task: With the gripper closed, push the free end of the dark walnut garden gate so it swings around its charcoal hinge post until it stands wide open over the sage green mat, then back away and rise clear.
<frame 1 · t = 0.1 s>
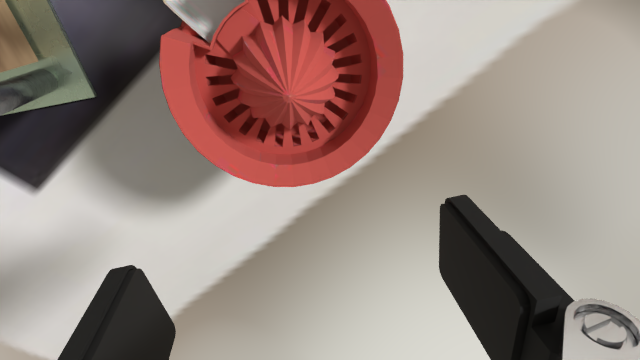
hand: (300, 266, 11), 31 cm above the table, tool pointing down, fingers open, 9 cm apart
citrus juicer: (274, 40, 36), on the table
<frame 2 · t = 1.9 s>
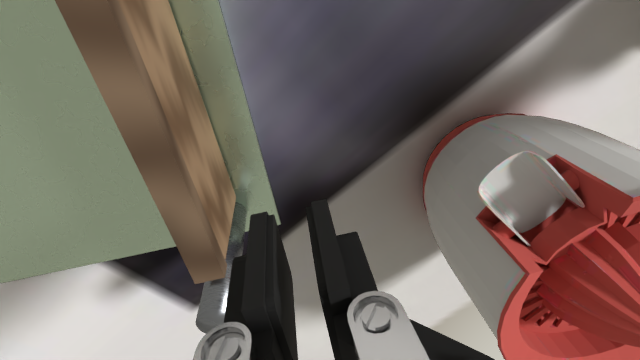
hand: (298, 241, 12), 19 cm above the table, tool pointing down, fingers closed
gate: (172, 112, 22), point 6 cm above the table, hinge at 0.0°
citrus juicer: (471, 163, 34), on the table
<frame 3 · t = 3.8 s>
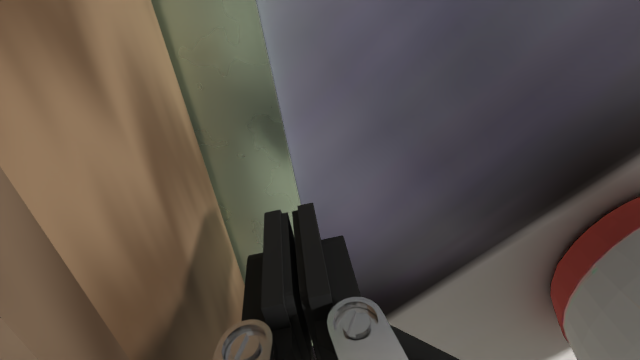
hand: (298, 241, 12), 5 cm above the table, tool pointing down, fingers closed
gate: (144, 239, 10), point 6 cm above the table, hinge at 1.8°, touching gripper
citrus juicer: (624, 249, 22), on the table
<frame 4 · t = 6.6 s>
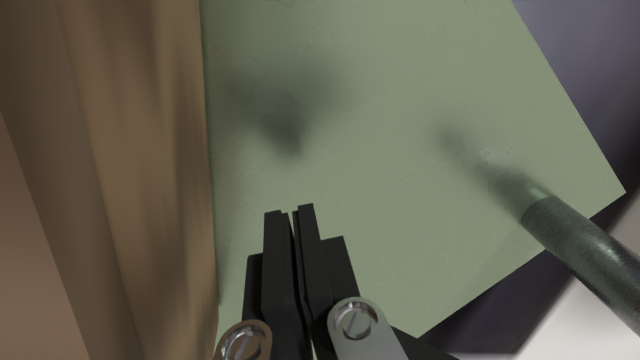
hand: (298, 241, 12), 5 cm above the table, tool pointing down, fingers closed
gate: (149, 232, 10), point 6 cm above the table, hinge at 51.4°, touching gripper
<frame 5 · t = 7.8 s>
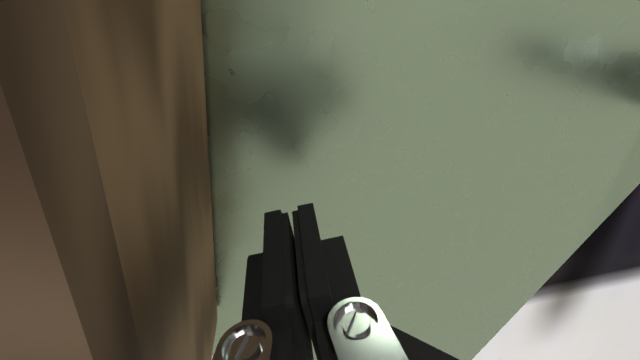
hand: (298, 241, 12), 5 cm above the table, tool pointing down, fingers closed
gate: (150, 231, 10), point 6 cm above the table, hinge at 72.1°, touching gripper
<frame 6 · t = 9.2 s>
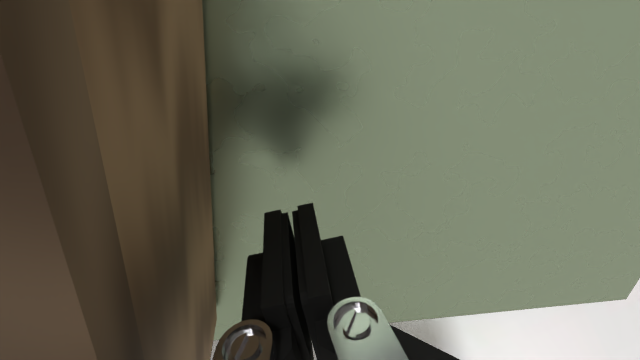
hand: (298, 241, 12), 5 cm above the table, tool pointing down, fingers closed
gate: (151, 229, 10), point 6 cm above the table, hinge at 95.7°, touching gripper
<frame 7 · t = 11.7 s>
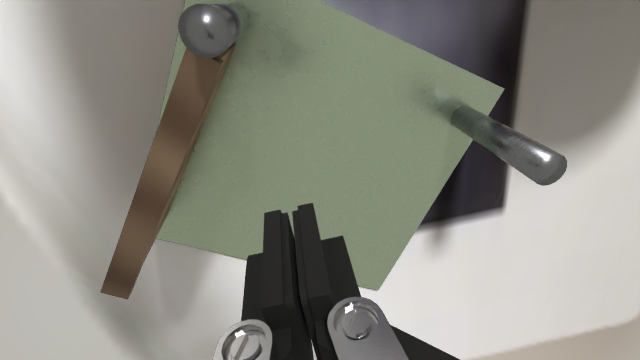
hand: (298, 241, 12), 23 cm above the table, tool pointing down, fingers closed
gate: (172, 163, 27), point 6 cm above the table, hinge at 95.8°
gate frame: (235, 19, 29), on the table
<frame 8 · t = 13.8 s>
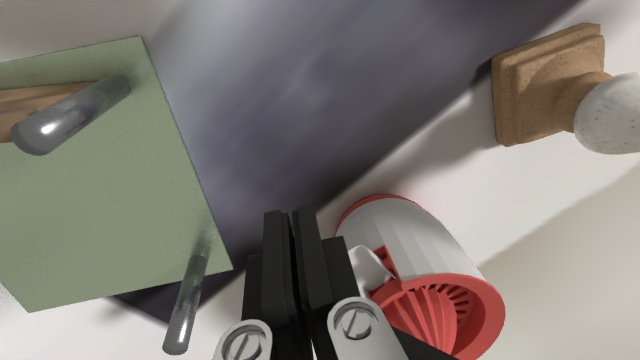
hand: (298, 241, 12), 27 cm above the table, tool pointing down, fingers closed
gate frame: (118, 86, 34), on the table
citrus juicer: (373, 224, 47), on the table
candle holder: (537, 86, 40), on the table
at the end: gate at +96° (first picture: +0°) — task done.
